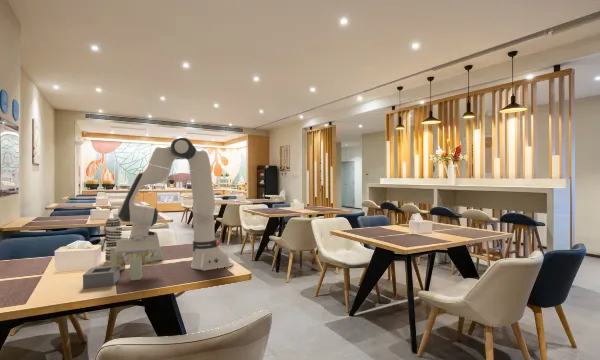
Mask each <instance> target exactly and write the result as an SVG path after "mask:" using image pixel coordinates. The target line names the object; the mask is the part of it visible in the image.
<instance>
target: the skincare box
mask: <svg viewBox="0 0 600 360" xmlns="http://www.w3.org/2000/svg"><path fill="white" fill-rule="evenodd" d="M115 248H116V247H113V248H110V262H109V263H110V264H109V266H120V271H122V270H125V269H126V262H124V257H123V255H117V254H116V253H115Z"/></svg>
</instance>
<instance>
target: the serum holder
mask: <svg viewBox="0 0 600 360" xmlns="http://www.w3.org/2000/svg"><path fill="white" fill-rule="evenodd" d="M120 271H121V270H120V266H110V265H109V266H101V267H91V268H89V269H88V270H87V271H86V272H84V274H83V275H82V289H91V288H92V289H93V288H94V289H95V288H101V287H102V288H103V287H111V286H112V287H113V286H115V285H116V283H117V282H118V281H119V280H120V277H121V276H120V273H121V272H120Z"/></svg>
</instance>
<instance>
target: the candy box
mask: <svg viewBox="0 0 600 360" xmlns="http://www.w3.org/2000/svg"><path fill="white" fill-rule="evenodd" d="M148 254H149V253H145V254H131V255H132V256H131V258H132V257H142V265H144V264H150V263H155V262H159V261H163V246H161V245H160V251H159V252H158V253H152V255H151V256H150V257H149V260H145V256H147V255H148Z"/></svg>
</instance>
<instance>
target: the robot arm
mask: <svg viewBox="0 0 600 360" xmlns="http://www.w3.org/2000/svg"><path fill="white" fill-rule="evenodd" d="M175 160H186V161H188V165H189V174H190V175H189V178H190V186H191V194H192V201H193V202H192V226H193V227H192V228H193V240H192V252H193V253H192V261H191V265H190V268H191V269H194V270H201V271H210V270H217V268H218V269H224V267H225V268H231V267H232V266H233V265H234V262H233V260H231V259H230V257H229V254H228V252H227V251H226V250H224V249H223V248H222V247H220V246H219V245H221V244H220V241H219V240H217V239H216V238H215V218H214V216H215V215H214V211H215V210H216V200H215V194H214V186H213V180H212V179H213V177H212V169H211V161H210V158H209V155H208V152H207V151H206V150H204V149H196V147H195V146H194V144H193V142H191V140H190V139H189V138H187V137H185V136H179V137H176V138H174V139H173V140H172V142H171V144H170V145H169V146H165V145H158V146H157V147H156V148H154V151H152V154H151V156H150V160H149V163H148V165H147V167H146V169H145V170H143V171H142V172H139V173H138V175H137V176H136V177H135V179H134V181H133V183H132V184H131V187H130V189H129V190H128V192H127V194H126V196H125V198H124V200H123V202H122V203H121V204H120V205H119V208H118V210H117V218H119V220H121V221H120V222H125V223H131V226H132V227H131V228H132V229H131V230H130V236H129V237H121V238H120V239H118V240H117V242H116V248H115V253H116V254H117V255H123V257H124V262H125V263H126V262H127V263H128V262H129V261H128V260H129V258H128V256H127V255H132V254H145V253H149V254H148V255H147V256H145V260H149V257H150V256H151V255H152V253H158V252H159V251H160V246H161V245H160V241H159V240H160V239H159V235H158V232H156V231H152V230H150V228H152V227H153V226H155V224H156V223H157V222H158V216H159V215H158V214H159V211H158V209H157V207H156V206H153V205H147V204H140V203H136V202H134V201H135V199H136V197H137V195H138V193H139V192H140V190H141V189H142V187H144V186H148V185H155V184H161V183H163V182H165V181H166V180H168V178H169V176H170V174H171V170H172V166H173V164H174V161H175ZM230 266H231V267H230Z"/></svg>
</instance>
